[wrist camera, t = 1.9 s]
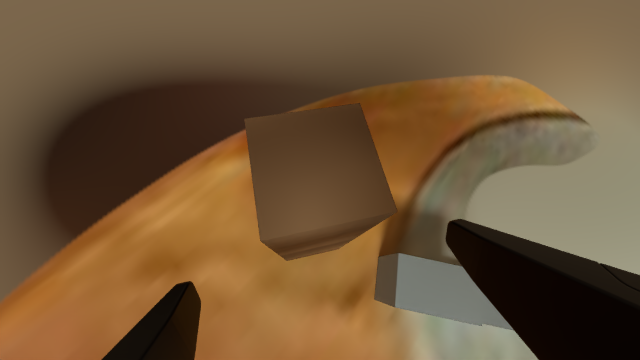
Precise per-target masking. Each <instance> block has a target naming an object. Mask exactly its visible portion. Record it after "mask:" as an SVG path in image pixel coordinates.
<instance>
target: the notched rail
mask: <svg viewBox="0 0 640 360" xmlns="http://www.w3.org/2000/svg"><path fill="white" fill-rule="evenodd" d="M375 300H377V301H380V302H382V303H385V304H388V305H390V306H393V307H396V308H401V309H405V310H410V311H414V312H419V313H424V314H428V315H433V316H438V317H442V318H447V319H451V320H456V321H461V322H465V323H470V324H475V325H479V326H482V324H487V325H492V326H496V327H501V328H505V329H510V330H513V328H512V327H511V326H510V325H509V324H508V322H507V321H506V320H505V319H504V318H503V317H502V315H501V314H500V313H499V312H498V311H497V309H496V308H495V307H494V306H493V305H492V303H491V302H490V301H489V300H488V299H487V298H486V296H485V295H484V294H483V293H482V292H481V290H480V289H479V288H478V287H477V286H476V284H475V283H474V282H473V281H472V279H471V278H470V277H469V275H468V274H467V272H466V271H465V269H464V268H463V267H462V266H457V265H453V264H448V263H443V262H439V261H434V260H429V259H425V258H420V257H415V256H411V255H406V254H401V253H396V254H391V255H386V256H381V257H379V259H378V269H377V279H376V289H375Z"/></svg>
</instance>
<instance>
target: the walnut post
mask: <svg viewBox="0 0 640 360" xmlns="http://www.w3.org/2000/svg"><path fill="white" fill-rule="evenodd" d="M245 127H246V134H247V142H248V150H249V158H250V165H251V173H252V181H253V188H254V196H255V204H256V211H257V219H258V227H259V234H260V241H261V242H262V243H264V244H265V245H266V246H268V247H269V248H270V249H272V250H273V251H274V252H276V253H277V254H278V255H280V256H281V257H282V258H284V259H285V260H287V261H288V260H293V259H297V258H301V257H306V256H310V255H314V254H319V253H323V252H327V251H332V250H336V249H339V248H341V247H342V246H344V245H345V244H347V243H349V242H350V241H352V240H353V239H355V238H356V237H358V236H360V235H361V234H363V233H364V232H366V231H368V230H369V229H371V228H372V227H374V226H375V225H377V224H379V223H380V222H382V221H383V220H385V219H387V218H388V217H390V216H391V215H393V214H394V213H396V212H398V211H397V208H396V206H395V203H394V200H393V197H392V194H391V191H390V188H389V186H388V183H387V180H386V177H385V174H384V171H383V168H382V165H381V163H380V160H379V157H378V154H377V151H376V148H375V145H374V142H373V140H372V137H371V134H370V131H369V128H368V125H367V122H366V120H365V117H364V114H363V111H362V108H361V105H360V103H357V104H350V105H343V106H335V107H328V108H321V109H313V110H306V111H299V112H291V113H284V114H277V115H270V116H262V117H255V118H248V119H245Z"/></svg>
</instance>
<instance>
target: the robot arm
mask: <svg viewBox="0 0 640 360" xmlns="http://www.w3.org/2000/svg"><path fill="white" fill-rule="evenodd" d="M446 243H447V245H448V247H449V248H450V250H451V251H452V252H453V254H454V255H455V257H456V258H457V259H458V261H459V262H460V264H461V265H462V267H463V268H464V269H465V271H466V272H467V274H468V275H469V277H470V278H471V279H472V281H473V282H474V283H475V284H476V286H477V287H478V288H479V289H480V290H481V292H482V293H483V294H484V295H485V296H486V298H487V299H488V300H489V301H490V302H491V303H492V305H493V306H494V307H495V308H496V309H497V311H498V312H499V313H500V314H501V315H502V317H503V318H504V319H505V320H506V321H507V322H508V324H509V325H510V326H511V327H512V328H513V330H514V331H515V332H516V333H517V334H518V335H519V337H520V338H521V339H522V340H523V341H524V343H525V344H526V345H527V346H528V347H529V349H530V350H531V351H532V352H533V353H534V354H535V356H536V357H537V358H538V359H539V360H640V275H637V274H634V273H631V272H627V271H624V270H621V269H618V268H615V267H612V266H608V265H605V264H602V263H600V264H599V263H598V262H595V261H592V260H589V259H586V258H583V257H579V256H576V255H573V254H570V253H567V252H564V251H560V250H558V249H554V248H551V247H548V246H545V245H542V244H539V243H535V242H532V241H529V240H526V239H523V238H520V237H516V236H513V235H510V234H507V233H504V232H500V231H497V230H494V229H491V228H488V227H485V226H482V225H479V224H475V223H472V222H469V221H466V220H463V219H456V220H452V221H450V222H449V223H448V226H447V233H446ZM200 310H201V300H200V297H199V295H198V293H197V291H196V288H195V286H194V284H193V283H192V282H191V281H187V282H183V283H179V284H176V285H175V286H174V287H173V288H172V289H171V290H170V291H169V292H168V293H167V294H166V295H165V296H164V297H163V298H162V299H161V300H160V301H159V302H158V303H157V304H156V305H155V306H154V307H153V308H152V309H151V310H150V311H149V312H148V313H147V314H146V315H145V316H144V317H143V318H142V319H141V320H140V321H139V322H138V323H137V324H136V325H135V326H134V327H133V328H132V329H131V330H130V331H129V332H128V333H127V334H126V335H125V336H124V337H123V338H122V339H121V340H120V341H119V342H118V343H117V344H116V345H115V346H114V348H113V349H112V350H111V351H110V352H109V353H108V354H107V355H106V356H105V357H104V358H103V359H102V360H194V358H195V351H196V343H197V335H198V326H199V318H200Z"/></svg>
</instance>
